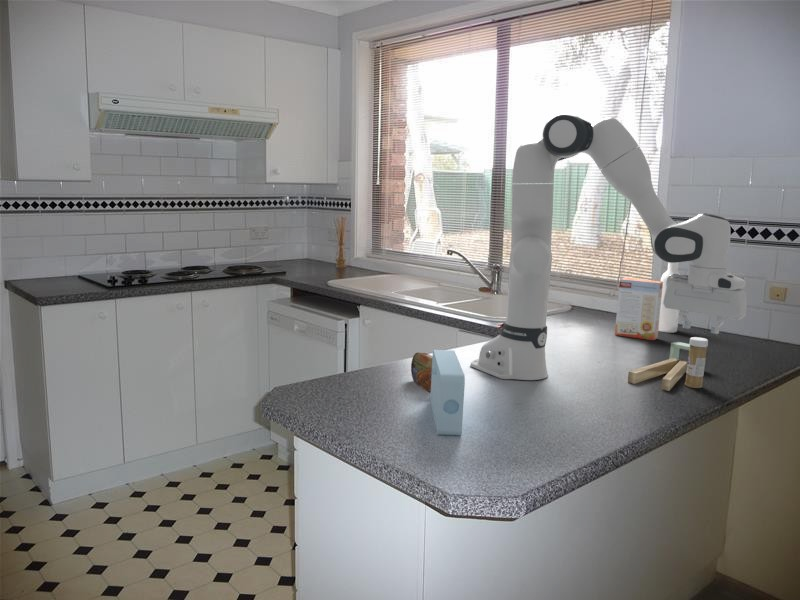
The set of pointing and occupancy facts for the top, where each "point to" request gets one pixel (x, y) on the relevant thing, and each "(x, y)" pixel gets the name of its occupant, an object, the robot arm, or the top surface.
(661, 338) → the top surface
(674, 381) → the tong arm
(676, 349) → the sleeve
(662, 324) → the bottle
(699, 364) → the sprinkles bottle
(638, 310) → the cracker box
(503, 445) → the top surface
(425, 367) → the tin
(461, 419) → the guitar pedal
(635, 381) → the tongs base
